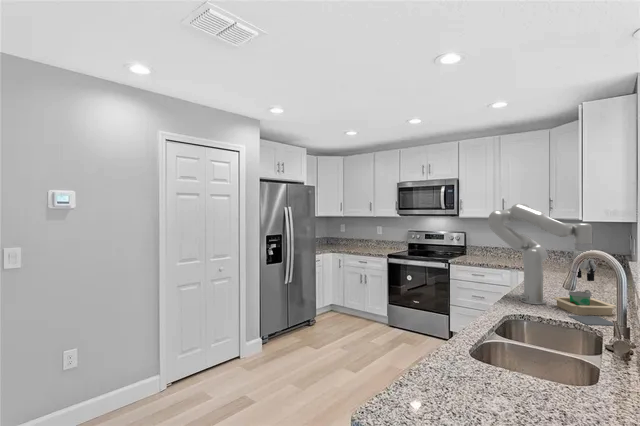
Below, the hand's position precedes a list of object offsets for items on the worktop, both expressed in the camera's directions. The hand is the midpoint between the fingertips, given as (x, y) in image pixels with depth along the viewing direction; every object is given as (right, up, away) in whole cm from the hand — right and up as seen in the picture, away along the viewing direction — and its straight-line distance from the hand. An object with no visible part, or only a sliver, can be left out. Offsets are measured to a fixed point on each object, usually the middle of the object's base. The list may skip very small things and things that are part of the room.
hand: (584, 279), depth 186 cm
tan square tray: (0, -16, 0) cm, 16 cm away
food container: (0, -17, 0) cm, 17 cm away
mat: (-10, -16, -18) cm, 26 cm away
